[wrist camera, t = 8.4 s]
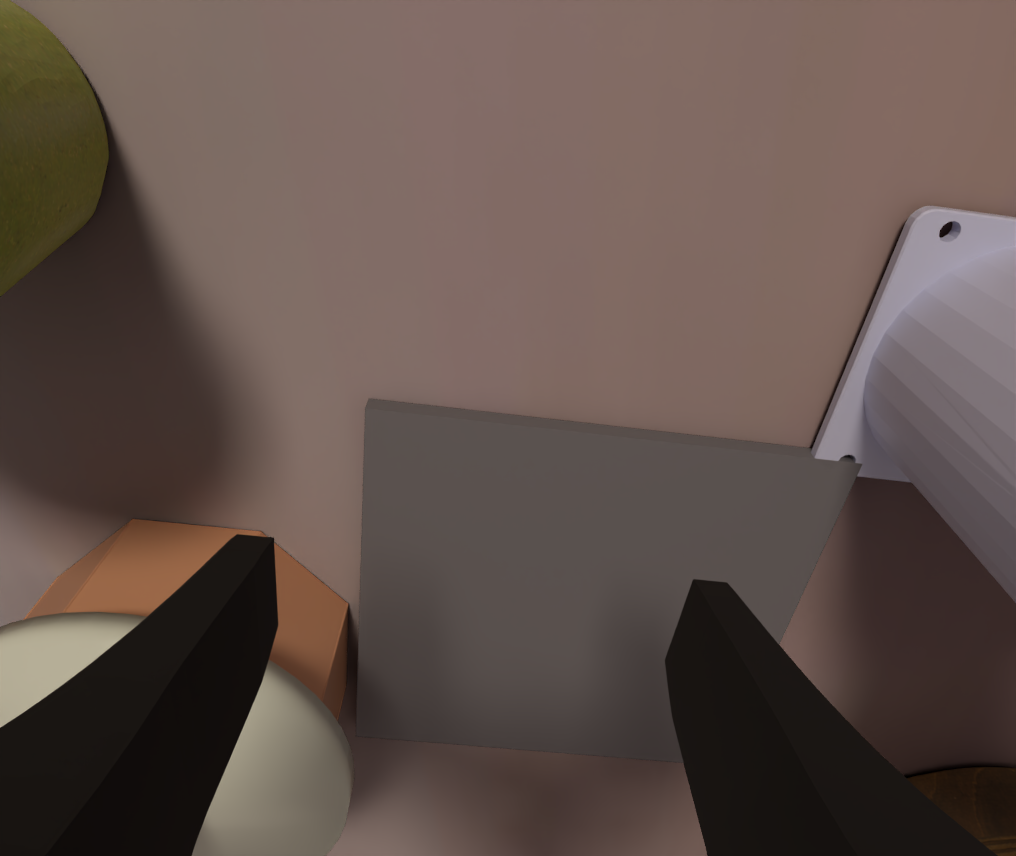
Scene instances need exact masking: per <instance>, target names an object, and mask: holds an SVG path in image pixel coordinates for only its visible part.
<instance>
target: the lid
mask: <svg viewBox="0 0 1016 856" xmlns="http://www.w3.org/2000/svg"><path fill="white" fill-rule="evenodd" d="M145 618H146V617H145V616H139V615H132V614H124V613H108V612H69V613H58V614H51V615H43V616H36V617H32V618H28V619H24V620H20V621H16V622H12V623H9V624H7V625H4V626H2V627H0V727H2V726H3V725H5V724H7V723H8V722H10V721H11V720H13V719H14V718H16V717H17V716H19V715H20V714H22V713H23V712H25V711H26V710H28V709H29V708H30V707H32V706H33V705H35V704H36V703H38V702H39V701H40V700H42V699H43V698H45V697H46V696H47V695H49V694H50V693H52V692H53V691H55V690H56V689H57V688H59V687H60V686H61V685H63V684H64V683H65V682H67V681H68V680H69V679H71V678H72V677H73V676H75V675H76V674H77V673H79V672H80V671H81V670H83V669H84V668H85V667H87V666H88V665H89V664H90V663H92V662H93V661H94V660H95V659H97V658H98V657H99V656H100V655H102V654H103V653H104V652H105V651H107V650H108V649H109V648H110V647H111V646H113V645H114V644H115V643H116V642H118V641H119V640H120V639H121V638H122V637H124V636H125V635H126V634H127V633H129V632H130V631H131V630H132V629H133V628H135V627H136V626H137V625H138V624H139V623H140V622H142V621H143V620H144V619H145ZM353 783H354V760H353V756H352V752H351V748H350V745H349V742H348V740H347V738H346V736H345V734H344V731H343V729H342V727H341V726H340V725H339V723H338V722H337V720H336V719H335V717H334V716H333V714H332V713H331V711H330V710H329V709H328V708H327V707H326V706H325V704H324V703H323V702H322V701H321V700H320V699H319V698H318V697H317V696H316V694H314V693H313V692H312V691H311V690H310V689H309V688H307V687H306V686H305V685H304V684H303V683H302V682H301V681H299V680H298V679H297V678H296V677H294V676H293V675H291V674H290V673H288V672H287V671H286V670H284V669H283V668H281V667H280V666H278V665H277V664H275V663H274V662H272V661H270V660H269V661H268V664H267V667H266V671H265V674H264V677H263V681H262V683H261V686H260V688H259V691H258V693H257V696H256V698H255V701H254V703H253V705H252V708H251V710H250V712H249V715H248V717H247V720H246V722H245V724H244V727H243V729H242V732H241V734H240V736H239V739H238V741H237V743H236V746H235V748H234V750H233V753H232V755H231V758H230V760H229V762H228V765H227V767H226V769H225V772H224V774H223V776H222V779H221V781H220V784H219V786H218V788H217V791H216V793H215V795H214V798H213V800H212V802H211V805H210V807H209V809H208V812H207V815H206V817H205V820H204V823H203V825H202V828H201V830H200V833H199V836H198V838H197V841H196V844H195V847H194V850H193V853H192V856H326V855H327V854H328V853H329V852H330V851H331V849H332V848H333V846H334V845H335V844H336V842H337V841H338V839H339V838H340V836H341V833H342V831H343V829H344V826H345V824H346V819H347V814H348V809H349V804H350V799H351V794H352V789H353Z"/></svg>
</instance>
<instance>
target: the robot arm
mask: <svg viewBox="0 0 1016 856" xmlns="http://www.w3.org/2000/svg"><path fill="white" fill-rule="evenodd" d="M951 221H952V223H953V224H952V229H951V230H950V232H949V233H948V234H947V235H945V236H944V237H941V238H940V237H939V233H940V230H941V228H942V227H943V225H945V224H946V223H948V222H951ZM811 453H812V455H813V456H814V458H816V459H824V460H833V461H839V460H840V458H841V457H843V456H845V455H850V457H851V458H852V459H853V460H854V462H855V463H860V464H862V466H861V469H860V471H859V473H858V475H857V477H866V478H875V479H884V480H893V481H902V482H911V483H913V485H914V486H915V487H916V488H917V489H918V490H919V492H920V493H921V494H922V495H923V496H924V497H925V499H926V500H927V501H928V502H929V503H930V504H931V505H932V507H933V508H934V509H935V510H936V511H937V512H938V514H939V515H940V516H941V517H942V518H943V519H944V521H945V522H946V523H947V524H948V525H949V526H950V528H951V529H952V530H953V531H954V532H955V533H956V534H957V536H958V537H959V538H960V539H961V540H962V541H963V543H964V544H965V545H966V546H967V547H968V548H969V550H970V551H971V552H972V553H973V554H974V555H975V556H976V558H977V559H978V560H979V561H980V562H981V563H982V565H983V566H984V567H985V568H986V569H987V570H988V572H989V573H990V574H991V575H992V576H993V577H994V579H995V580H996V581H997V582H998V583H999V584H1000V585H1001V587H1002V588H1003V589H1004V590H1005V591H1006V592H1007V594H1008V595H1009V596H1010V597H1011V598H1012V599H1013V601H1014V602H1015V603H1016V217H1011V216H1003V215H996V214H989V213H981V212H974V211H967V210H960V209H952V208H945V207H938V206H924V207H922V208H920V209H917V210H916V211H915V212H914V213H913V214H911V215H910V216H909V218H908V220H907V221H906V223H905V225H904V228H903V230H902V233H901V235H900V237H899V240H898V242H897V245H896V247H895V250H894V252H893V254H892V257H891V259H890V262H889V264H888V266H887V269H886V271H885V274H884V276H883V279H882V281H881V283H880V286H879V288H878V291H877V293H876V295H875V298H874V300H873V303H872V305H871V308H870V310H869V312H868V315H867V317H866V320H865V322H864V325H863V327H862V329H861V332H860V334H859V337H858V339H857V341H856V344H855V346H854V349H853V351H852V354H851V356H850V358H849V361H848V363H847V366H846V368H845V370H844V373H843V375H842V378H841V380H840V383H839V385H838V387H837V390H836V392H835V395H834V397H833V400H832V402H831V404H830V407H829V409H828V412H827V414H826V416H825V419H824V421H823V424H822V426H821V429H820V431H819V433H818V436H817V438H816V441H815V443H814V445H813V448H812V450H811ZM823 468H824V467H823ZM825 468H826V469H827V467H825ZM832 470H833V469H832ZM825 471H826V470H825ZM277 629H278V607H277V587H276V568H275V549H274V538H272V537H262V536H252V535H242V534H236V535H235V536H234V537H232V538H231V539H230V540H229V541H228V542H227V543H226V544H225V545H224V546H223V547H222V548H221V549H219V550H218V551H217V552H216V553H215V554H214V555H213V556H212V557H211V558H210V559H209V560H208V561H207V562H206V563H205V564H204V565H203V566H202V567H201V568H200V569H199V570H198V571H197V572H196V573H195V574H194V575H192V576H191V577H190V578H189V579H188V580H187V581H186V582H185V583H184V584H183V585H182V586H181V587H180V588H179V589H177V590H176V591H175V592H174V593H173V594H172V595H171V596H170V597H169V598H167V599H166V600H165V601H164V602H163V603H162V604H161V605H160V606H159V607H157V608H156V609H155V610H154V611H153V612H152V613H151V614H150V615H148V616H147V617H146V618H145V619H144V620H143V621H142V622H140V623H139V624H138V625H137V626H136V627H135V628H133V629H132V630H131V631H130V632H129V633H127V634H126V635H125V636H124V637H122V638H121V639H120V640H119V641H118V642H116V643H115V644H114V645H113V646H111V647H110V648H109V649H108V650H107V651H105V652H104V653H103V654H102V655H100V656H99V657H98V658H97V659H95V660H94V661H93V662H92V663H90V664H89V665H88V666H87V667H85V668H84V669H83V670H81V671H80V672H79V673H77V674H76V675H75V676H73V677H72V678H71V679H69V680H68V681H67V682H65V683H64V684H63V685H61V686H60V687H59V688H57V689H56V690H55V691H53V692H52V693H50V694H49V695H47V696H46V697H45V698H43V699H42V700H40V701H39V702H38V703H36V704H35V705H33V706H32V707H30V708H29V709H28V710H26V711H25V712H23V713H22V714H20V715H19V716H17V717H16V718H14V719H13V720H11V721H10V722H8V723H7V724H5V725H3V726H2V727H0V856H192V853H193V850H194V847H195V844H196V841H197V838H198V836H199V833H200V830H201V828H202V825H203V823H204V820H205V817H206V815H207V812H208V809H209V807H210V805H211V802H212V800H213V798H214V795H215V793H216V791H217V788H218V786H219V784H220V781H221V779H222V776H223V774H224V772H225V769H226V767H227V765H228V762H229V760H230V758H231V755H232V753H233V750H234V748H235V746H236V743H237V741H238V739H239V736H240V734H241V732H242V729H243V727H244V724H245V722H246V720H247V717H248V715H249V712H250V710H251V708H252V705H253V703H254V701H255V698H256V696H257V693H258V691H259V688H260V686H261V683H262V681H263V677H264V674H265V671H266V667H267V664H268V661H269V657H270V654H271V650H272V647H273V643H274V639H275V636H276V632H277ZM665 667H666V675H667V684H668V692H669V699H670V706H671V713H672V719H673V723H674V727H675V731H676V735H677V739H678V743H679V747H680V751H681V755H682V759H683V762H684V766H685V770H686V774H687V778H688V781H689V785H690V789H691V793H692V797H693V801H694V804H695V808H696V812H697V816H698V820H699V823H700V827H701V831H702V835H703V839H704V842H705V846H706V851H707V855H708V856H998V855H996V854H995V853H994V852H993V851H991V850H990V849H989V848H987V847H986V846H985V845H984V844H983V843H981V842H980V841H979V840H978V839H976V838H975V837H974V836H973V835H972V834H970V833H969V832H968V831H967V830H966V829H964V828H963V827H962V826H961V825H959V824H958V823H957V822H956V821H955V820H953V819H952V818H951V817H950V816H948V815H947V814H946V813H945V812H944V811H942V810H941V809H940V808H939V807H938V806H937V805H935V804H934V803H933V802H932V801H931V800H930V799H929V798H927V797H926V796H925V795H924V794H923V793H922V792H921V791H919V790H918V789H917V788H916V787H915V786H914V785H913V784H912V783H911V782H910V781H909V780H907V779H906V778H905V777H904V776H903V775H902V774H901V773H900V772H899V771H898V770H897V769H896V768H894V767H893V766H892V765H891V764H890V763H889V762H888V761H887V760H886V759H885V758H884V757H883V756H882V755H880V754H879V753H878V752H877V751H876V750H875V749H874V748H873V747H872V746H871V745H870V744H869V743H868V742H867V741H866V740H865V739H864V738H863V737H862V736H861V735H860V734H859V733H858V732H857V731H856V730H855V729H854V728H853V726H852V725H851V724H850V723H849V722H848V721H847V720H846V719H845V718H844V717H843V716H842V715H841V714H840V713H839V712H838V711H837V710H836V709H835V708H834V707H833V706H832V705H831V703H830V702H829V701H828V700H827V699H826V698H825V697H824V696H823V695H822V694H821V692H820V691H819V690H818V689H817V688H816V687H815V686H814V685H813V684H812V683H811V681H810V680H809V679H808V678H807V677H806V676H805V675H804V673H803V672H802V671H801V670H800V669H799V668H798V667H797V665H796V664H795V663H794V662H793V661H792V660H791V658H790V657H789V656H788V655H787V654H786V652H785V651H784V650H783V649H782V648H781V647H780V645H779V644H778V643H777V642H776V641H775V639H774V638H773V637H772V636H771V635H770V633H769V632H768V631H767V630H766V628H765V627H764V626H763V625H762V624H761V622H760V621H759V620H758V619H757V618H756V616H755V615H754V614H753V613H752V611H751V610H750V609H749V608H748V607H747V605H746V604H745V603H744V602H743V600H742V599H741V598H740V597H739V596H738V594H737V593H736V592H735V591H734V590H733V588H732V587H731V586H730V585H729V584H728V583H727V582H718V581H708V580H698V579H693V581H692V584H691V587H690V589H689V592H688V595H687V598H686V601H685V604H684V607H683V609H682V612H681V615H680V618H679V621H678V624H677V627H676V629H675V632H674V635H673V638H672V641H671V644H670V646H669V649H668V652H667V655H666V658H665Z"/></svg>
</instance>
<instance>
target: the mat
mask: <svg viewBox="0 0 1016 856" xmlns="http://www.w3.org/2000/svg"><path fill="white" fill-rule="evenodd" d="M811 450H812V448H804V447H795V446H787V445H778V444H769V443H760V442H751V441H742V440H733V439H724V438H715V437H706V436H698V435H689V434H680V433H671V432H662V431H653V430H644V429H635V428H626V427H617V426H609V425H600V424H591V423H582V422H573V421H564V420H555V419H546V418H537V417H528V416H520V415H511V414H502V413H493V412H484V411H475V410H466V409H457V408H448V407H439V406H431V405H422V404H413V403H404V402H395V401H386V400H377V399H368V402H367V405H366V408H365V432H364V467H363V501H362V536H361V570H360V605H359V639H358V674H357V708H356V736H358V737H370V738H382V739H395V740H407V741H419V742H432V743H444V744H456V745H469V746H481V747H493V748H506V749H518V750H530V751H543V752H555V753H567V754H580V755H592V756H604V757H617V758H629V759H641V760H654V761H666V762H678V763H684V762H683V759H682V755H681V751H680V747H679V743H678V739H677V735H676V731H675V727H674V723H673V719H672V713H671V706H670V699H669V692H668V684H667V675H666V667H665V658H666V655H667V652H668V649H669V646H670V644H671V641H672V638H673V635H674V632H675V629H676V627H677V624H678V621H679V618H680V615H681V612H682V609H683V607H684V604H685V601H686V598H687V595H688V592H689V589H690V587H691V584H692V581H693V579H698V580H708V581H718V582H727V583H728V584H729V585H730V586H731V587H732V588H733V590H734V591H735V592H736V593H737V594H738V596H739V597H740V598H741V599H742V600H743V602H744V603H745V604H746V605H747V607H748V608H749V609H750V610H751V611H752V613H753V614H754V615H755V616H756V618H757V619H758V620H759V621H760V622H761V624H762V625H763V626H764V627H765V628H766V630H767V631H768V632H769V633H770V635H771V636H772V637H773V638H774V639H775V641H776V642H777V643H778V644H780V641H781V639H782V637H783V635H784V633H785V631H786V629H787V626H788V624H789V622H790V620H791V618H792V616H793V613H794V611H795V609H796V607H797V605H798V603H799V600H800V598H801V596H802V594H803V592H804V590H805V587H806V585H807V583H808V581H809V579H810V577H811V574H812V572H813V570H814V568H815V566H816V564H817V562H818V559H819V557H820V555H821V553H822V551H823V549H824V546H825V544H826V542H827V540H828V538H829V536H830V533H831V531H832V529H833V527H834V525H835V523H836V520H837V518H838V516H839V514H840V512H841V510H842V507H843V505H844V503H845V501H846V499H847V497H848V495H849V492H850V490H851V488H852V486H853V484H854V482H855V479H856V477H857V475H858V473H859V471H860V469H861V466H862V464H860V463H855V462H854V460H853V459H852V458H851V457H850V455H845V456H843V457H841V458H840V460H839V461H833V460H824V459H816V458H814V456H813V455H812V453H811ZM823 467H824V468H823ZM825 467H827V469H826V468H825ZM832 469H833V470H832ZM825 470H826V471H825Z"/></svg>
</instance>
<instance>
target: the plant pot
mask: <svg viewBox="0 0 1016 856" xmlns="http://www.w3.org/2000/svg"><path fill="white" fill-rule="evenodd" d="M108 160H109V150H108V139H107V134H106V129H105V125H104V121H103V118H102V115H101V111H100V109H99V106H98V103H97V101H96V98H95V96H94V93H93V91H92V88H91V87H90V85H89V83H88V82H87V80H86V78H85V76H84V75H83V73H82V71H81V69H80V68H79V66H78V65H77V64H76V62H75V61H74V59H73V58H72V57H71V55H70V54H69V53H68V51H67V50H66V48H65V47H64V46H63V45H62V44H61V42H60V41H59V40H58V39H57V38H56V37H55V35H54V34H53V33H52V32H51V31H50V30H49V29H48V28H47V27H46V26H45V25H43V24H42V23H41V22H40V21H39V20H38V19H36V18H35V17H34V16H33V15H31V14H30V13H29V12H27V11H25V10H24V9H22V8H21V7H19V6H18V5H16V4H15V3H13V2H11V1H10V0H0V297H1V296H2V295H3V294H4V293H5V292H6V291H8V290H9V289H10V288H11V287H12V286H14V285H15V284H16V283H17V282H18V281H19V280H21V279H22V278H23V277H24V276H25V275H26V274H28V273H29V272H30V271H31V270H32V269H33V268H35V267H36V266H37V265H38V264H39V263H41V262H42V261H43V260H44V259H45V258H46V257H48V256H49V255H50V254H51V253H52V252H53V251H55V250H56V249H57V248H58V247H59V246H61V245H62V244H63V243H64V242H65V241H66V240H68V239H69V238H70V237H71V236H72V235H74V234H75V233H76V232H77V231H78V230H80V229H81V228H82V227H83V226H84V225H85V224H86V223H87V222H88V220H89V219H90V218H91V217H92V215H93V214H94V212H95V210H96V206H97V203H98V201H99V198H100V195H101V191H102V186H103V182H104V178H105V173H106V168H107V164H108Z"/></svg>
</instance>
